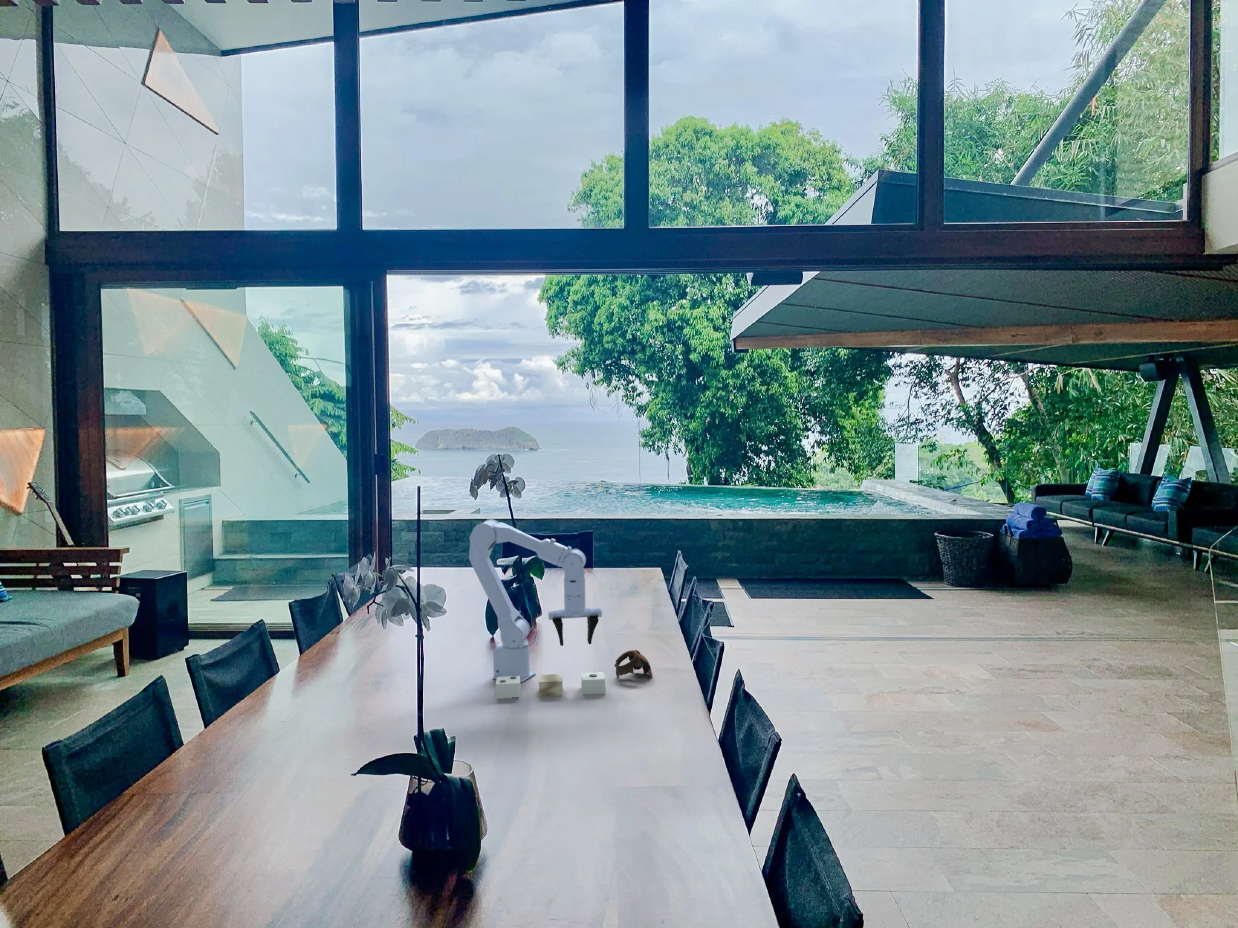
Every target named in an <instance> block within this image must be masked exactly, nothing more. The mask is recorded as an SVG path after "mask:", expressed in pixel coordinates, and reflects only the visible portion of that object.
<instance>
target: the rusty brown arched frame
mask: <svg viewBox="0 0 1238 928" xmlns="http://www.w3.org/2000/svg"><path fill="white" fill-rule="evenodd" d="M627 659H628V660H629V662H627V663H626V664H623V665H620V664H621V663H623V661H625V660H627ZM613 666H614V668H615V675H616V677H617V678H619V677H620V676H623V675H628V674H635V672H634V670H635V671H636V670H639V671H640V670H641V669H642V670H643V671H642V672H643V673H644V674H648V675H649V679H650V680H651V679H653V673H652V668H651V664H650V663H649V660H648V659H647V658H646V657H645V655H643V654H641V652H640V651H639V650H637V649H635V650H633V649H632V650H628V651H626V652H624V653H622V654H620V656H618V657H617V658H616V659H615V664H614V665H613Z"/></svg>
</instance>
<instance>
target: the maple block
mask: <svg viewBox="0 0 1238 928" xmlns="http://www.w3.org/2000/svg"><path fill="white" fill-rule="evenodd" d="M538 676H539V677H538V697H539V698H540V697H541V698H542V697H563V691H564V690H563V689H564V688H563V687H564V685H563V681H564V680H563V673H553V674H552V673H551V674H539V675H538Z"/></svg>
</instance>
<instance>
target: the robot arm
mask: <svg viewBox="0 0 1238 928" xmlns="http://www.w3.org/2000/svg"><path fill="white" fill-rule="evenodd" d="M556 540H557V539H555V538H551V539H549V538H544V539H543V540H542V539H541V540H540V539H538V538H536V537H533V536H531V535H530V534H527V533H525V532H523V531H521V530H520V529H517V528H515V527H514V526H511V525H509V524H507V523H505V522H501V521H500V522H499V521H498V520H496V519H486V520H484V522H482V523H479V524H477V525H476V526H474V528H473V529H472V531H471V533H470V536H469V542H470V543H469V552H468V553H469V554H468V559H469V562H470V564H471V566H472V568H473V571H474V572H475V574H476V576H477V578H478V580H479V582H480V584H481V587H482V589H483V590H484V592H485V594H486V596H487V599H488V601H489V603H490V605H491V607H492V609H493V611H494V612H495V614H496V617H497V626H498V629H499V631H500V641H501V642H502V643H499V644H497V645H496V646H495V647H494V651H493V657H492V658H493V660H492V661H493V676H492V679H494V680H497V677H505V676H520V683H523V682H525V681H526V680H528V679H529V678H532V677H533V676H535V675H536V673H537V672H535V671H530V669H531V667H530V645H529V644H530V643H529V640H528V638H527V637H528V636H529V634H530V630H531V628H530V626H531V625H530V623H529V622H528V621H527V620H526V619H525V618H524V617H523V616H522V615H521V612H520V611H519V610H518V609H516V607H515V606H514V604H513V602H512V601H511V599H510V598H511V597H509V595H508V593H507V590H506V589H505V586H504V584H503V582H502V580H501V578H500V576H499V574H498V572H497V570H496V568H495V566H494V564H493V562H492V560H491V558H490V556H491V554H492V551H493V548H494V546H495V545H496V544H501V543H507V542H510V543H512V544H515V545H517V546H520V547H522V548H526V549H527V550H531V551H533V552H535V553H536V555H537V557H538V559H540V560H542V561H545V562H547V563H550V564H552V565H555V566H556V567H559V568H562V570H563V571H564V578H563V589H564V591H563V593H564V594H563V595H564V597H563V598H564V599H563V600H564V601H563V602H564V608H563V609H558V610H549V611H548V612H547V616H548V617H547V619H548V620H549V621H552V622H553V624H554V627H555V629H556V630H555V631H556V632H557V635H558V639H559V645H560V646H561V647H563V646H564V636H563V635H564V634H563V633H564V632H563V631H564V629H563V628H564V623H563V619H575V618H576V619H577V618H587V643H588V645H591V644H592V641H593V636H594V632H595V629H596V627H597V625H598V624H599V618H602V617H603V610H602V608H589V607H588V608H586V578H585V574H586V573H585V568H584V567H585V566H586V563H587V557H586V554H584V552H583V551H581V550H580V549H579V548H573V549H572V546H570V545H568V546H565V545H563V544H561V543H560V542H559V543H558V542H556Z"/></svg>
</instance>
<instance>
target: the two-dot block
mask: <svg viewBox="0 0 1238 928" xmlns="http://www.w3.org/2000/svg"><path fill="white" fill-rule="evenodd" d="M495 681H496V682H495V697H496V699H497V700H498V699H500V700H501V699H513V698H512V697H520V698H521V682H520V676H505V677H497V679H495Z"/></svg>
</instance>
